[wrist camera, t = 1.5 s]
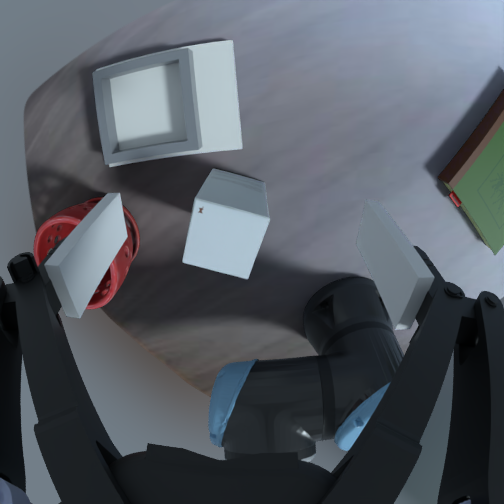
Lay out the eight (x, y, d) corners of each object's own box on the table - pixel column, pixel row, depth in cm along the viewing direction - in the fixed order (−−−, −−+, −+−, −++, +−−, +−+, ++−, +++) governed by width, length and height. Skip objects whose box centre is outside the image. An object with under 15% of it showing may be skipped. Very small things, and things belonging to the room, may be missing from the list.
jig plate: (242, 147, 37) (240, 152, 33) (114, 164, 38) (101, 171, 34) (233, 42, 30) (230, 35, 27) (101, 70, 31) (86, 68, 28)
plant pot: (163, 248, 44) (137, 296, 33) (101, 275, 47) (69, 320, 36) (120, 171, 38) (77, 199, 28) (61, 209, 41) (16, 243, 30)
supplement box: (199, 217, 42) (178, 263, 30) (212, 166, 38) (193, 195, 27) (250, 231, 43) (248, 282, 31) (267, 182, 39) (271, 217, 28)
